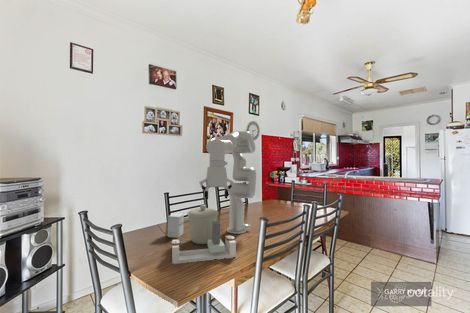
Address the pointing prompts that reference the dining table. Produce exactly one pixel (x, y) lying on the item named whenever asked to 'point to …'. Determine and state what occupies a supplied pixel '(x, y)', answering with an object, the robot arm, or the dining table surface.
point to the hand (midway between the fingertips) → (216, 198)
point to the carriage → (216, 239)
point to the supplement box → (175, 225)
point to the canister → (201, 224)
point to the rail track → (204, 256)
